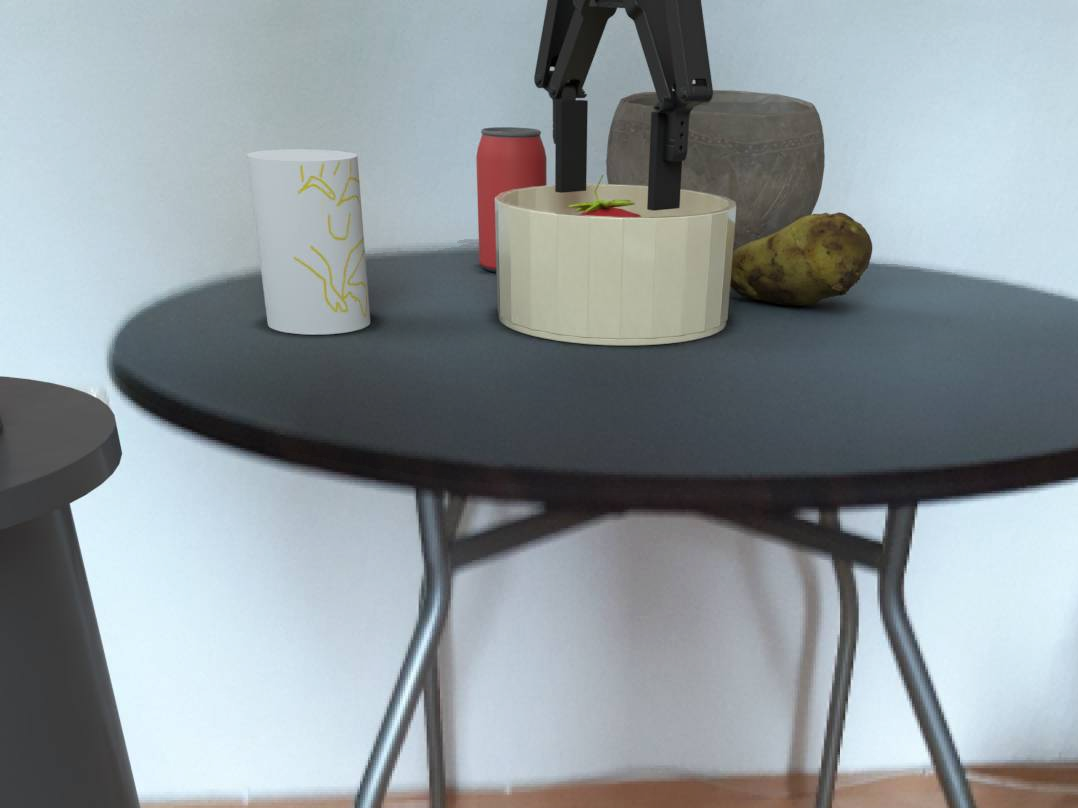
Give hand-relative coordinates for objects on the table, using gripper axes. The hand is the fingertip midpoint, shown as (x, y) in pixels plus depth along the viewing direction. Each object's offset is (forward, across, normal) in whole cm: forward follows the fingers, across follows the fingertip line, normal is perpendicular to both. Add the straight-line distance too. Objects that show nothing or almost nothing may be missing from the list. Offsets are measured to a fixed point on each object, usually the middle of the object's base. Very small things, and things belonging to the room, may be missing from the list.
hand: (615, 199), depth 95 cm
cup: (+9, +12, +21) cm, 26 cm away
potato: (+9, -6, -16) cm, 19 cm away
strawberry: (+9, 0, 0) cm, 9 cm away
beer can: (+9, +22, -6) cm, 25 cm away
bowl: (+9, +12, -23) cm, 28 cm away
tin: (+9, 0, 0) cm, 9 cm away
